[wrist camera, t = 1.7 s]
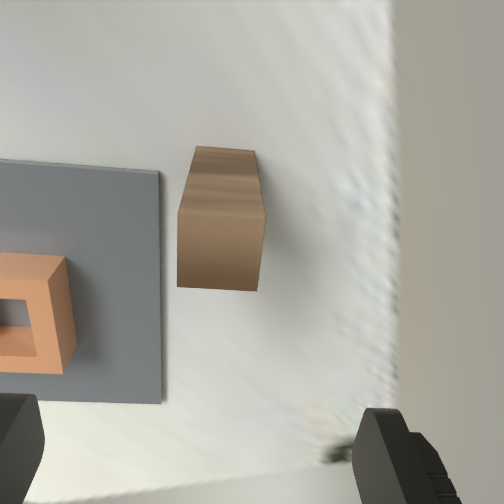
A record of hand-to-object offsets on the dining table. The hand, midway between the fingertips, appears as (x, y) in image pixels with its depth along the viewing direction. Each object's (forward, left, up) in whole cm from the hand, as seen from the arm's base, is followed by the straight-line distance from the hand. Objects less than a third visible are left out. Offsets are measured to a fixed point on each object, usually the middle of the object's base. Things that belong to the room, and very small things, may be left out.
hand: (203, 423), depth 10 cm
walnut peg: (0, 0, -18) cm, 18 cm away
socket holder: (+10, -14, -18) cm, 25 cm away
